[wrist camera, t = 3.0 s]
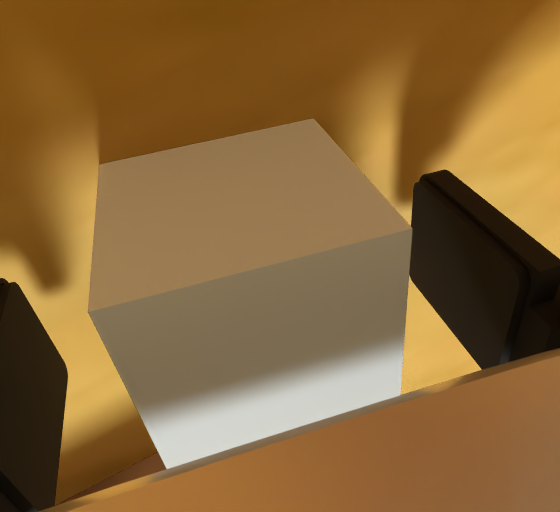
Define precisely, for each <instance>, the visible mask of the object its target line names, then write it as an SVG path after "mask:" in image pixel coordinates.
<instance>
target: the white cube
mask: <svg viewBox="0 0 560 512" xmlns="http://www.w3.org/2000/svg"><path fill="white" fill-rule="evenodd" d="M412 229H413V228H412V227H411V226H410V225H409V224H408V223H407V222H406V220H405V219H404V218H403V217H402V216H401V215H400V214H399V213H398V212H397V210H396V209H395V208H394V207H393V206H392V205H391V204H390V203H389V202H388V200H387V199H386V198H385V197H384V196H383V195H382V194H381V193H380V192H379V190H378V189H377V188H376V187H375V186H374V185H373V184H372V183H371V182H370V180H369V179H368V178H367V177H366V176H365V175H364V174H363V173H362V172H361V170H360V169H359V168H358V167H357V166H356V165H355V164H354V163H353V162H352V160H351V159H350V158H349V157H348V156H347V155H346V154H345V153H344V152H343V150H342V149H341V148H340V147H339V146H338V145H337V144H336V143H335V142H334V140H333V139H332V138H331V137H330V136H329V135H328V134H327V133H326V132H325V130H324V129H323V128H322V127H321V126H320V125H319V124H318V123H317V122H316V120H315V119H314V118H312V119H307V120H303V121H298V122H294V123H289V124H284V125H280V126H275V127H270V128H266V129H261V130H256V131H252V132H247V133H243V134H238V135H233V136H229V137H224V138H219V139H215V140H210V141H205V142H201V143H196V144H192V145H187V146H182V147H178V148H173V149H168V150H164V151H159V152H154V153H150V154H145V155H141V156H136V157H131V158H127V159H122V160H117V161H113V162H108V163H103V164H99V173H98V186H97V199H96V213H95V226H94V239H93V252H92V265H91V278H90V291H89V304H88V313H89V315H90V317H91V319H92V321H93V323H94V325H95V327H96V329H97V331H98V333H99V335H100V337H101V339H102V341H103V343H104V345H105V347H106V349H107V351H108V353H109V355H110V357H111V359H112V361H113V363H114V365H115V367H116V369H117V371H118V373H119V375H120V377H121V379H122V381H123V383H124V385H125V387H126V389H127V391H128V393H129V395H130V397H131V399H132V401H133V403H134V405H135V407H136V409H137V411H138V413H139V415H140V417H141V419H142V421H143V423H144V425H145V427H146V429H147V431H148V433H149V435H150V437H151V439H152V441H153V443H154V445H155V447H156V449H157V451H158V453H159V455H160V457H161V459H162V461H163V463H164V465H165V467H166V469H169V468H172V467H175V466H178V465H181V464H185V463H188V462H191V461H194V460H197V459H200V458H203V457H206V456H209V455H213V454H216V453H219V452H222V451H225V450H228V449H231V448H234V447H237V446H241V445H244V444H247V443H250V442H253V441H256V440H260V439H263V438H266V437H269V436H272V435H275V434H279V433H282V432H285V431H288V430H291V429H294V428H297V427H301V426H304V425H307V424H310V423H313V422H317V421H320V420H323V419H326V418H329V417H332V416H336V415H339V414H342V413H345V412H348V411H351V410H355V409H358V408H361V407H364V406H367V405H371V404H374V403H377V402H380V401H383V400H387V399H390V398H393V397H396V396H400V391H401V377H402V364H403V350H404V337H405V323H406V310H407V296H408V283H409V269H410V256H411V242H412Z"/></svg>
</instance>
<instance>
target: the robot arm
mask: <svg viewBox="0 0 560 512" xmlns="http://www.w3.org/2000/svg"><path fill="white" fill-rule="evenodd" d="M411 227H412V228H413V229H412V242H411V256H410V269H409V275H410V278H411V280H412V281H413V283H414V284H415V285H416V287H417V288H418V289H419V290H420V292H421V293H422V294H423V296H424V297H425V298H426V299H427V301H428V302H429V303H430V304H431V306H432V307H433V308H434V309H435V311H436V312H437V313H438V315H439V316H440V317H441V318H442V320H443V321H444V322H445V323H446V325H447V326H448V327H449V328H450V330H451V331H452V332H453V334H454V335H455V336H456V337H457V339H458V340H459V341H460V342H461V344H462V345H463V346H464V347H465V349H466V350H467V351H468V353H469V354H470V355H471V356H472V358H473V359H474V360H475V361H476V363H477V364H478V365H479V366H480V368H481V369H482V370H480V371H477V372H474V373H471V374H467V375H464V376H461V377H458V378H454V379H451V380H448V381H445V382H442V383H438V384H435V385H432V386H429V387H425V388H422V389H419V390H416V391H412V392H409V393H406V394H403V395H400V396H396V397H393V398H390V399H387V400H383V401H380V402H377V403H374V404H371V405H367V406H364V407H361V408H358V409H355V410H351V411H348V412H345V413H342V414H339V415H336V416H332V417H329V418H326V419H323V420H320V421H317V422H313V423H310V424H307V425H304V426H301V427H297V428H294V429H291V430H288V431H285V432H282V433H279V434H275V435H272V436H269V437H266V438H263V439H260V440H256V441H253V442H250V443H247V444H244V445H241V446H237V447H234V448H231V449H228V450H225V451H222V452H219V453H216V454H213V455H209V456H206V457H203V458H200V459H197V460H194V461H191V462H188V463H185V464H181V465H178V466H175V467H172V468H169V469H166V470H163V471H160V472H156V473H153V474H150V475H147V476H144V477H141V478H138V479H135V480H132V481H128V482H125V483H122V484H119V485H116V486H113V487H110V488H107V489H104V490H101V491H98V492H95V493H92V494H89V495H86V496H83V497H80V498H77V499H74V500H71V501H68V502H65V503H63V504H60V505H57V506H55V496H56V486H57V477H58V467H59V458H60V448H61V439H62V429H63V420H64V410H65V400H66V391H67V381H68V373H67V368H66V365H65V363H64V361H63V359H62V357H61V356H60V354H59V352H58V351H57V349H56V347H55V346H54V344H53V342H52V340H51V339H50V337H49V335H48V334H47V332H46V330H45V329H44V327H43V325H42V324H41V322H40V320H39V319H38V317H37V315H36V314H35V312H34V310H33V308H32V307H31V305H30V303H29V302H28V300H27V298H26V297H25V295H24V293H23V292H22V290H21V288H20V287H19V285H18V284H17V283H16V282H12V283H8V281H7V280H5V279H3V278H0V512H560V259H559V258H558V257H556V256H555V255H554V254H552V253H551V252H550V251H549V250H547V249H546V248H545V247H544V246H542V245H541V244H540V243H539V242H537V241H536V240H535V239H534V238H532V237H531V236H530V235H529V234H527V233H526V232H525V231H524V230H522V229H521V228H520V227H519V226H517V225H516V224H515V223H513V222H512V221H511V220H510V219H508V218H507V217H506V216H505V215H503V214H502V213H501V212H500V211H498V210H497V209H496V208H495V207H493V206H492V205H491V204H490V203H488V202H487V201H486V200H485V199H483V198H482V197H481V196H479V195H478V194H477V193H476V192H474V191H473V190H472V189H471V188H469V187H468V186H467V185H466V184H464V183H463V182H462V181H461V180H459V179H458V178H457V177H456V176H454V175H453V174H452V173H451V172H449V171H447V170H441V171H437V172H432V173H428V174H424V175H422V176H421V178H420V180H419V182H417V183H415V185H414V190H413V205H412V220H411Z"/></svg>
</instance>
